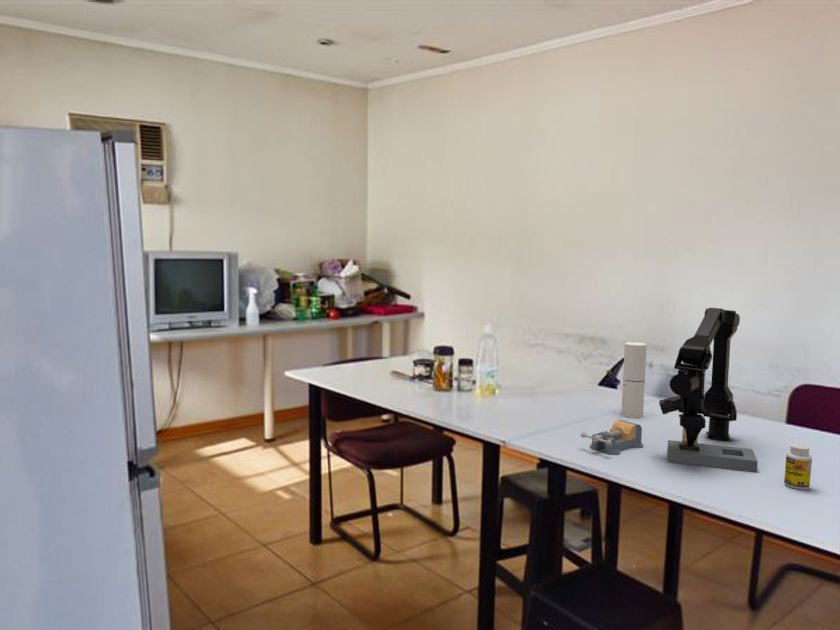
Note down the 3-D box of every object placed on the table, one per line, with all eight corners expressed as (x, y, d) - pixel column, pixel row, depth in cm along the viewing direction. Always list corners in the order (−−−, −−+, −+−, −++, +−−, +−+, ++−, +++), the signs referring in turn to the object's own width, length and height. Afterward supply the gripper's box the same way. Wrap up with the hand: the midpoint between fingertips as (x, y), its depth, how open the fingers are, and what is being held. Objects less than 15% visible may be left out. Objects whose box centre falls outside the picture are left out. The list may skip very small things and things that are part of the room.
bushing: (681, 448, 190) (682, 420, 189) (696, 450, 188) (698, 421, 187) (681, 452, 186) (683, 423, 185) (697, 454, 184) (699, 425, 184)
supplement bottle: (779, 485, 168) (782, 445, 166) (790, 480, 171) (793, 441, 170) (803, 492, 163) (806, 451, 162) (813, 487, 166) (817, 447, 165)
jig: (667, 450, 194) (667, 440, 194) (751, 459, 187) (752, 448, 187) (667, 461, 184) (668, 451, 184) (756, 472, 177) (757, 461, 176)
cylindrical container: (634, 419, 227) (638, 346, 224) (617, 414, 233) (620, 343, 230) (647, 416, 231) (651, 344, 228) (629, 411, 237) (633, 341, 234)
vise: (617, 438, 205) (618, 417, 205) (647, 447, 197) (648, 425, 196) (579, 449, 195) (580, 426, 194) (608, 458, 186) (609, 435, 186)
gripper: (661, 380, 196) (658, 432, 198) (661, 394, 179) (658, 450, 181) (702, 383, 193) (699, 436, 195) (707, 397, 175) (703, 455, 177)
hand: (689, 444), depth 187 cm, fingers closed on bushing, 4 cm apart
